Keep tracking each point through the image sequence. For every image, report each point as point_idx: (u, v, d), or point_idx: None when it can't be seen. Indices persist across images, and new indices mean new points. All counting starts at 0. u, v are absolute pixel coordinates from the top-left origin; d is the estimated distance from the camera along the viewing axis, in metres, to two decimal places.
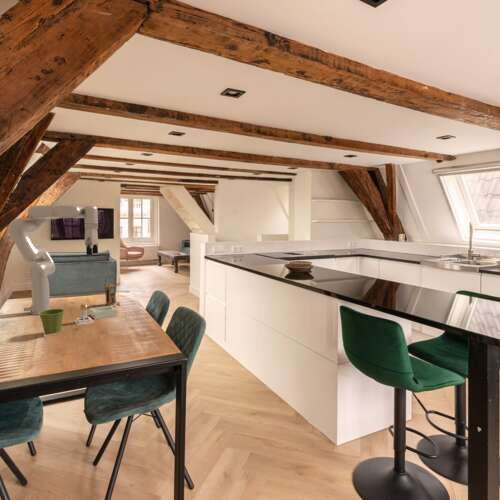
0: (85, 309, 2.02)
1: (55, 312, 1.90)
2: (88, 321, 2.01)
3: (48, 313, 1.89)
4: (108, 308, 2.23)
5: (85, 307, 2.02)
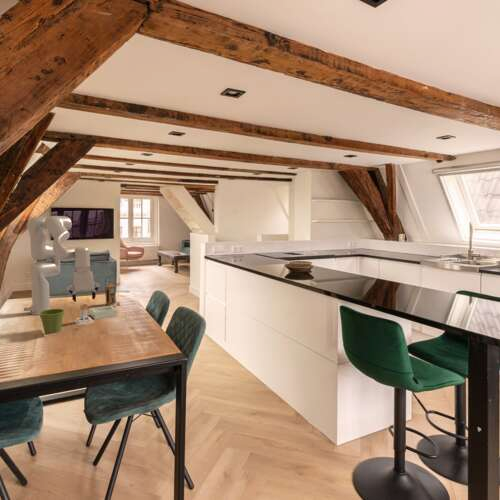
0: (85, 309, 2.02)
1: (55, 312, 1.90)
2: (88, 321, 2.01)
3: (48, 313, 1.89)
4: (108, 308, 2.23)
5: (85, 307, 2.02)
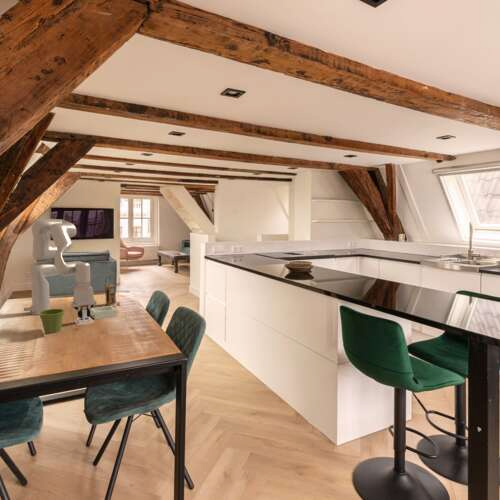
0: (85, 309, 2.02)
1: (55, 312, 1.90)
2: (88, 321, 2.01)
3: (48, 313, 1.89)
4: (108, 308, 2.23)
5: (85, 307, 2.02)
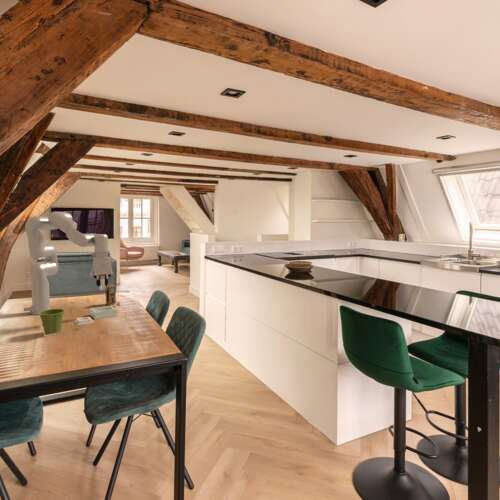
0: (103, 278, 2.13)
1: (55, 312, 1.90)
2: (88, 321, 2.01)
3: (48, 313, 1.89)
4: (108, 308, 2.23)
5: (103, 276, 2.13)
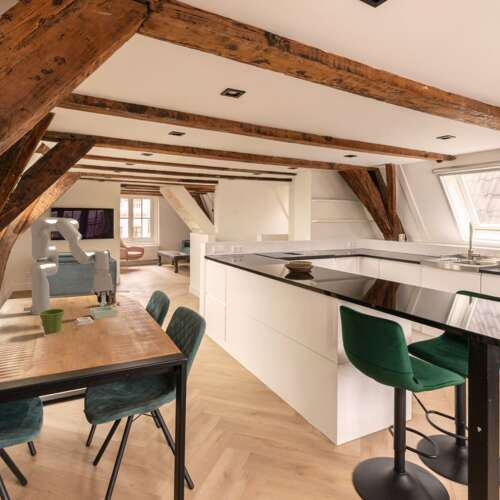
0: (104, 295, 2.14)
1: (55, 312, 1.90)
2: (88, 321, 2.01)
3: (48, 313, 1.89)
4: (108, 308, 2.23)
5: (104, 293, 2.14)
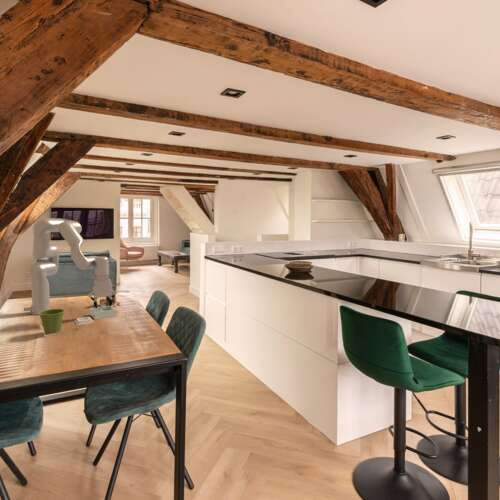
0: (104, 304, 2.15)
1: (55, 312, 1.90)
2: (88, 321, 2.01)
3: (48, 313, 1.89)
4: (108, 308, 2.23)
5: (104, 302, 2.14)
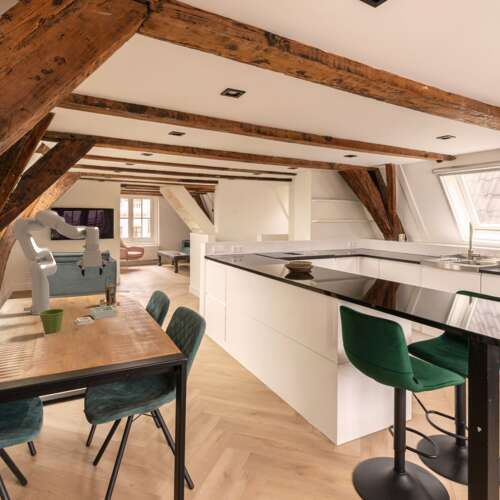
0: (104, 304, 2.15)
1: (55, 312, 1.90)
2: (88, 321, 2.01)
3: (48, 313, 1.89)
4: (108, 308, 2.23)
5: (104, 302, 2.15)
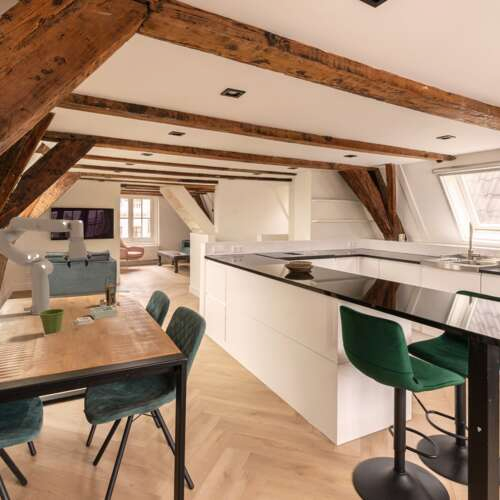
0: (104, 304, 2.15)
1: (55, 312, 1.90)
2: (88, 321, 2.01)
3: (48, 313, 1.89)
4: (108, 308, 2.23)
5: (104, 302, 2.15)
